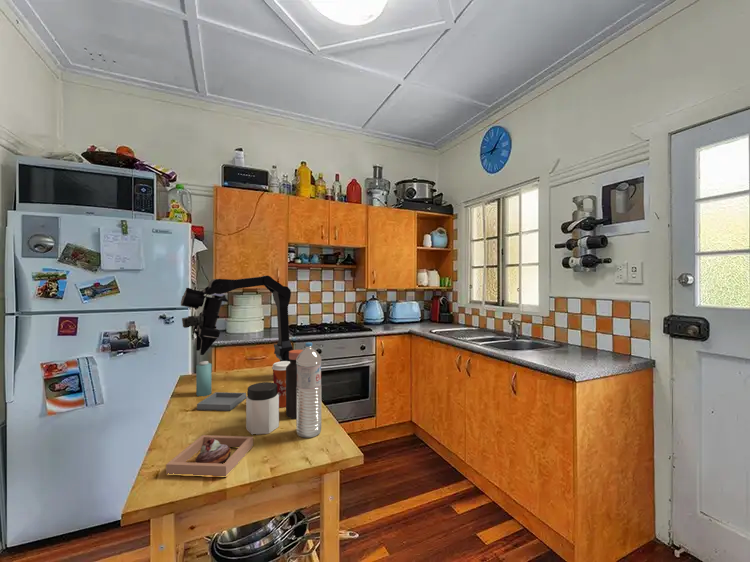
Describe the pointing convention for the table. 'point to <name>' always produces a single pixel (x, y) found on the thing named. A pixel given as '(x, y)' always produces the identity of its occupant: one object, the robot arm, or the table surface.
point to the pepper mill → (203, 379)
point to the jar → (262, 408)
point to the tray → (221, 401)
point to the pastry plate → (215, 469)
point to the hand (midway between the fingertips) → (199, 352)
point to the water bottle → (308, 393)
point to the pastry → (213, 452)
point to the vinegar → (291, 384)
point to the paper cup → (280, 380)
